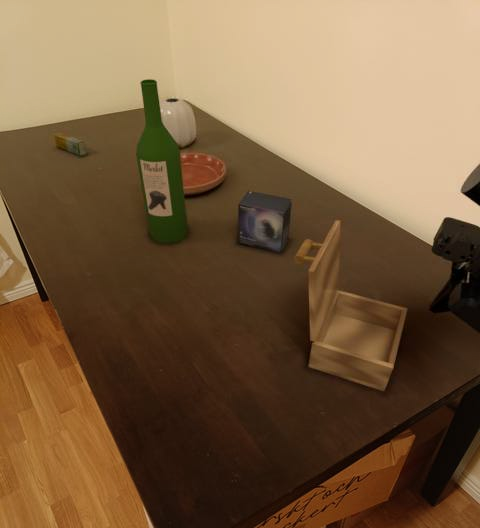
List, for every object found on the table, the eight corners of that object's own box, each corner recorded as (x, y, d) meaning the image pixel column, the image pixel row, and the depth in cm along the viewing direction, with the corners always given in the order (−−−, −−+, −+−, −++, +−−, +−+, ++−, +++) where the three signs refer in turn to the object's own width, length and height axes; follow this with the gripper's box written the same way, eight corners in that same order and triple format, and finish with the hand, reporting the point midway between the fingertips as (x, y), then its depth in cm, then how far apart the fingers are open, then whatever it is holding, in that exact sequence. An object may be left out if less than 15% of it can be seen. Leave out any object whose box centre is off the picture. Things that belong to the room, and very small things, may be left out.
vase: (162, 155, 134) (156, 109, 124) (151, 139, 143) (144, 95, 134) (203, 148, 138) (201, 103, 128) (190, 133, 147) (186, 90, 138)
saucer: (139, 169, 126) (137, 157, 124) (214, 159, 131) (213, 147, 129) (152, 206, 111) (150, 193, 108) (236, 193, 116) (236, 180, 113)
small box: (236, 244, 98) (236, 202, 91) (247, 230, 102) (247, 189, 95) (280, 254, 95) (284, 212, 88) (289, 239, 99) (293, 198, 92)
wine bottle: (146, 243, 98) (118, 88, 76) (153, 222, 105) (130, 74, 82) (185, 244, 98) (168, 89, 75) (190, 223, 104) (176, 74, 82)
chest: (399, 331, 78) (407, 308, 74) (384, 391, 68) (393, 368, 64) (331, 312, 81) (335, 289, 77) (308, 367, 72) (312, 343, 68)
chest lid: (340, 220, 68) (312, 218, 70) (313, 271, 59) (282, 267, 60) (338, 287, 77) (313, 284, 79) (315, 341, 67) (287, 336, 69)
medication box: (87, 154, 134) (85, 141, 132) (80, 156, 133) (78, 143, 130) (62, 144, 139) (60, 131, 137) (55, 146, 137) (53, 133, 135)
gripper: (477, 170, 57) (397, 246, 69) (470, 240, 45) (374, 318, 57) (542, 218, 58) (452, 285, 69) (553, 301, 45) (441, 366, 57)
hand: (431, 310), depth 63 cm, fingers closed
